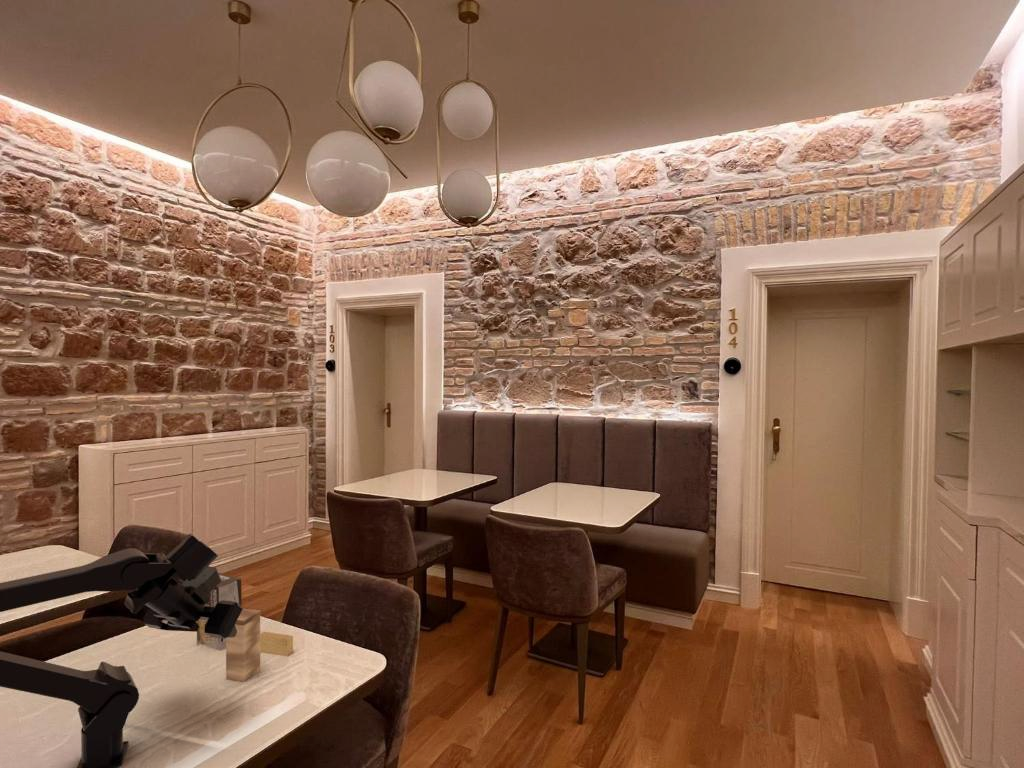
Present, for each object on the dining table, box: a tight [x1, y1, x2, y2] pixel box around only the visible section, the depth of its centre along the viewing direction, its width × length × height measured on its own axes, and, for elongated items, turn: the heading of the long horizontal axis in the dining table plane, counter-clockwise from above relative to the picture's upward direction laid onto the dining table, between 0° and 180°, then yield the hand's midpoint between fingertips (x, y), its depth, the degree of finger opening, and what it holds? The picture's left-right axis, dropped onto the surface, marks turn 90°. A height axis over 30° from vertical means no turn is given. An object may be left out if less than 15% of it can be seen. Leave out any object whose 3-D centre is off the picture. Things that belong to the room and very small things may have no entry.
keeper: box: [225, 608, 262, 682], centre depth 122 cm, size 5×5×13 cm
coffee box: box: [196, 572, 243, 651], centre depth 137 cm, size 9×6×16 cm
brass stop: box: [260, 631, 294, 657], centre depth 132 cm, size 2×8×4 cm, turn 75°
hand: (216, 631), depth 114 cm, fingers open, 9 cm apart
